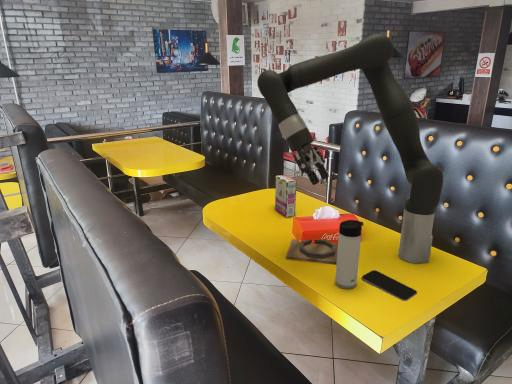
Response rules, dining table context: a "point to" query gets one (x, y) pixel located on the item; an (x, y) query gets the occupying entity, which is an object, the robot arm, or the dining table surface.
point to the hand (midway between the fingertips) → (321, 180)
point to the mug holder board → (313, 251)
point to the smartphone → (389, 285)
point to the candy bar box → (285, 195)
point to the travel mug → (348, 253)
